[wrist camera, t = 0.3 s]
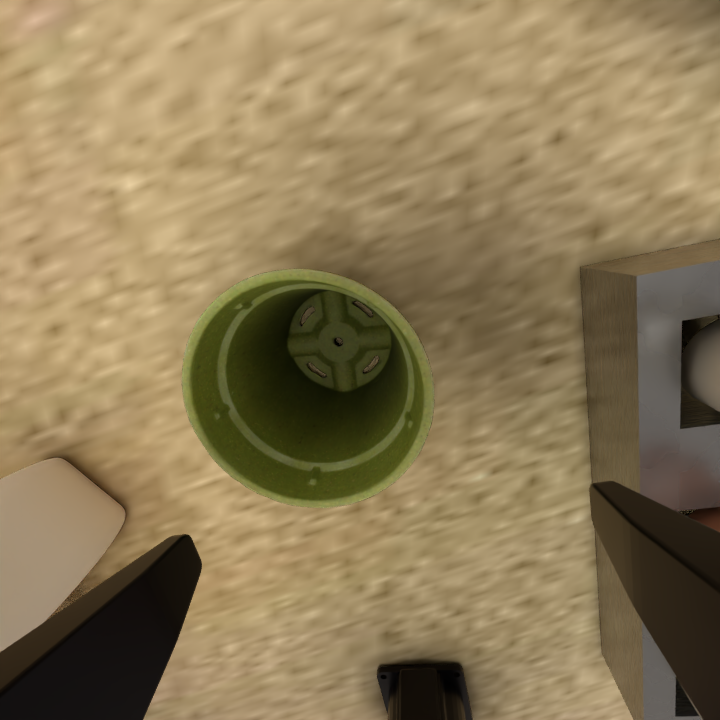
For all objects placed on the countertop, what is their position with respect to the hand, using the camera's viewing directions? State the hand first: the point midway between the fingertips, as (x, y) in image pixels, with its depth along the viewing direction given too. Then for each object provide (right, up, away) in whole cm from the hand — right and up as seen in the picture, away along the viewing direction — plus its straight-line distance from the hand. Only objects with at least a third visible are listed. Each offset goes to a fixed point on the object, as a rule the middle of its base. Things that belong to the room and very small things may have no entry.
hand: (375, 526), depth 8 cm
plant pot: (-1, +5, +14) cm, 15 cm away
